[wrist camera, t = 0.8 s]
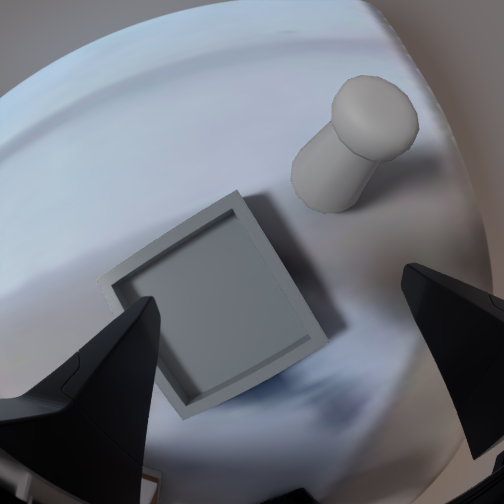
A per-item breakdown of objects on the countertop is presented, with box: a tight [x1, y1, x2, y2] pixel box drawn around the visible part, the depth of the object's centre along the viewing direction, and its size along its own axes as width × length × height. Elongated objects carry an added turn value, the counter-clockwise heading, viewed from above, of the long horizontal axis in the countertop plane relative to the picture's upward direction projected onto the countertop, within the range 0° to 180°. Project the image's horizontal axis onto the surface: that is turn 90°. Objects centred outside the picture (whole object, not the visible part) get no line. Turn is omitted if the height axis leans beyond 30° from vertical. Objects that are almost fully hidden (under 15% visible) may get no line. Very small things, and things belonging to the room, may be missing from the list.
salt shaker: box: [291, 75, 419, 214], centre depth 17 cm, size 6×6×13 cm
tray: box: [97, 190, 329, 420], centre depth 21 cm, size 13×13×2 cm
